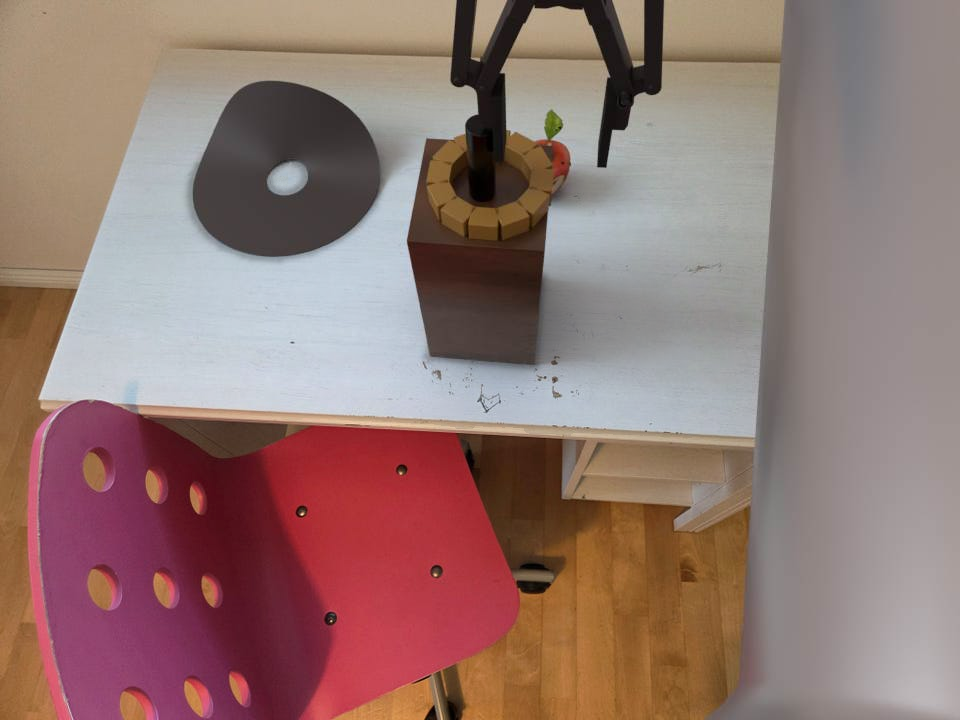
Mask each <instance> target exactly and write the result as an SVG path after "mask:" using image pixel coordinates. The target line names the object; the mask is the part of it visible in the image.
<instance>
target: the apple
mask: <svg viewBox="0 0 960 720" xmlns="http://www.w3.org/2000/svg"><path fill="white" fill-rule="evenodd" d="M545 116H546V117H545V119H544V125H543V129H544V133H545V136H546V139H537V140H533V141H534V142H536V143H538V144H537V145H544V146H553V156H552V165H553V169H554V177H553V187H552V196H553V195H554V194H555V193H556V192H557V191H558V190H559V189H560V188H561V187H562V186H563V184H564V183H565V182H566V180H567V178H568V176H569V172H570V168H571V167H572V162H571V154H570V151H569V148H568V147H567V146H566V145H565V143H564V144H563V143H562V142H560V141H557V140H554V139H553V138H555V136H557V135H558V134H559V133H560V132H561V130H562V129H563V128H564V122H563V119H562V118H561V117H560V116H559V115H558V114H557V113H556V112H555V111H554V110H553V109H552V108H551V109H550V110H549V111H548V112H546V115H545Z"/></svg>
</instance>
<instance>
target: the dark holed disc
mask: <svg viewBox="0 0 960 720" xmlns="http://www.w3.org/2000/svg"><path fill="white" fill-rule="evenodd" d="M289 159H290V160H291V159H292V160H293V159H294V160H297V161H299V162H300V163H302V164H303V166H304V167H305V169H306V171H307V180H306V183H305V185H304V186H303V187H302V188H301V189H299V190H298V191H296V192H294V193H290V194H278V193H275V192H273V191H272V190H271V189H270V188H269V187H268V184H267V180H268V176H269V174H270V173H271V171H272V170H273V169H274V167H276V166H277V164H279V163H280V162H282V161H285V160H289ZM380 170H381V169H380V160H379V155H378V151H377V147H376V144H375V142H374V139H373V136H372V135H371V133H370V132H369V129H368V128H367V126H366V125H365V124H364V122H363V121H362V119H360V117H359V116H358V115H357V114H356V113H355V112H354V111H353V110H352V109H351V108H350V107H349V106H347V104H344V102H342V101H340V100H339V99H337V98H336V97H334V96H332V95H330V94H328V93H326V92H324V91H321V90H319V89H316V88H313V87H311V86H307V85H304V84H300V83H296V82H290V81H282V80H261V81H255V82H250V83H248V84H247V85H244V86H243V87H241V88H240V89H238V90H237V91H236V92H235V93H234V94H233V95H232V97H230V98H229V100H228V102H227V103H226V105H225V106H224V108H223V110H222V112H221V113H220V116H219V118H218V120H217V122H216V124H215V126H214V129H213V131H212V133H211V136H210V137H209V141H208V143H207V145H206V147H205V149H204V152H203V154H202V156H201V160H200V161H199V165H198V167H197V170H196V173H195V176H194V180H193V185H192V203H193V208H194V211H195V214H196V217H197V219H198V220H199V222H200V223H201V225H202V227H203V228H204V229H205V230H206V232H208V233H209V234H210V235H211V236H212V237H213V238H214V239H215V240H217V241H218V242H220V243H221V244H223V245H224V246H226V247H229V248H231V249H233V250H236V251H238V252H242V253H245V254H249V255H254V256H263V257H279V256H280V257H281V256H292V255H296V254H297V255H298V254H302V253H305V252H309V251H312V250H315V249H318V248H320V247H323V246H325V245H327V244H329V243H331V242H333V241H334V240H336V239H338V238H340V237H341V236H343V235H344V234H346V233H347V232H348V231H350V230H351V229H352V228H353V227H354V226H355V225H356V224H357V223H358V222H360V220H361V219H363V217H365V215H366V214H367V212H368V210H369V209H370V208H371V206H372V204H373V202H374V200H375V199H376V196H377V193H378V192H377V191H378V189H379V183H380V175H381V174H380V172H381V171H380Z"/></svg>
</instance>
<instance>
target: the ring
mask: <svg viewBox="0 0 960 720" xmlns="http://www.w3.org/2000/svg"><path fill="white" fill-rule="evenodd" d="M511 133H512V132H511V129H506V134H507V139H506V146H505V154H504V161H505V162H507V163H509V164H510V165H512V166H514V167H516V168H518V169H520V170H521V171H522V172H523V174H524V175H525V177H526V179H527V180H528V182H529V184H530V185H529V188H528V189H527V190H526V191H525V193H524V194H523V195H522V196H521V197H520V198H519V199H518V200H517V201H515V202H512V203H510V204H507V205H504V206H501V207H499V208H485V207H475V206H473V205H471V204H469V203H468V202H466V201H464V200H462V199H461V198H459V197H457V195H456V193H455V191H454V190H453V188H452V185H453V179H454V178H455V177H456V176H457V175H458V174H459V173H460V172H461V171H462V170H463V169H464V168H465V167H466V166H468V165H467V149H466V133H462V134H460V135H457V136H454V137H453V140H454V142H452V141H451V140H452V139H448V140H449V141H448V142H447V143H446V144H445V145H444V146H443V147H442V148H441V149H440V150H439V151H438V152H437V153H436V154H435V155H434V156H433V161H432V160H431V161H430V165H429V170H428V175H427V180H426V184H427V191H428V197H429V202H430V204H431V206H432V208H433V210H434V212H435V214H436V216H437V218H438V220H442V224H443V225H445V226H447V227H448V228H450V229H452V230H453V231H455V232H457V233H458V234H460V235H462V236H463V237H465V236H466V235H467V234H468V233H469V238H470V239H480V240H492V241H498V236H499V234H500V236H501V238H502V240H505V239H508V238H511V237H513V236H516V235H519V234H522V233H524V232H527V231H529V226H530V227H532V228H533V227H534V226H535V225H536V224H537V223H538V221H539V220H540V219H541V218H542V217H543V216H544V215H545V213H546V212H547V211H548V212H549V209H550V207H551V206H552V198H553V195H552V187H553V177H554V169H553V165H552V163H551V161H550V160H549V158H548V157H547V155H546V153H545V152H544V150H543V149H542V147H541V146H540V147H537V144H538V143H536V142H534V141H535V140H533V139H530V138H528V137H526V136H525V135H523V134H521V133H519V132H518V131H514V132H513V133H512V134H511Z"/></svg>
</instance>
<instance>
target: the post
mask: <svg viewBox="0 0 960 720" xmlns="http://www.w3.org/2000/svg"><path fill="white" fill-rule="evenodd" d="M464 130H465V133H466V149H467V165H468V181H469V194H470V196H471V197H472V198H473V199H474V200H476V201H479V202H486V201H489V200H491V199H492V198H493V197H494V195H495V193H496V162H494V147H493V126H492V125H490V124H481V122H480V121H479V119H478V113H477V114H474V115H471V116H470V117H468V119H467V120H466V121H465V123H464ZM465 133H464V134H465Z"/></svg>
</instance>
